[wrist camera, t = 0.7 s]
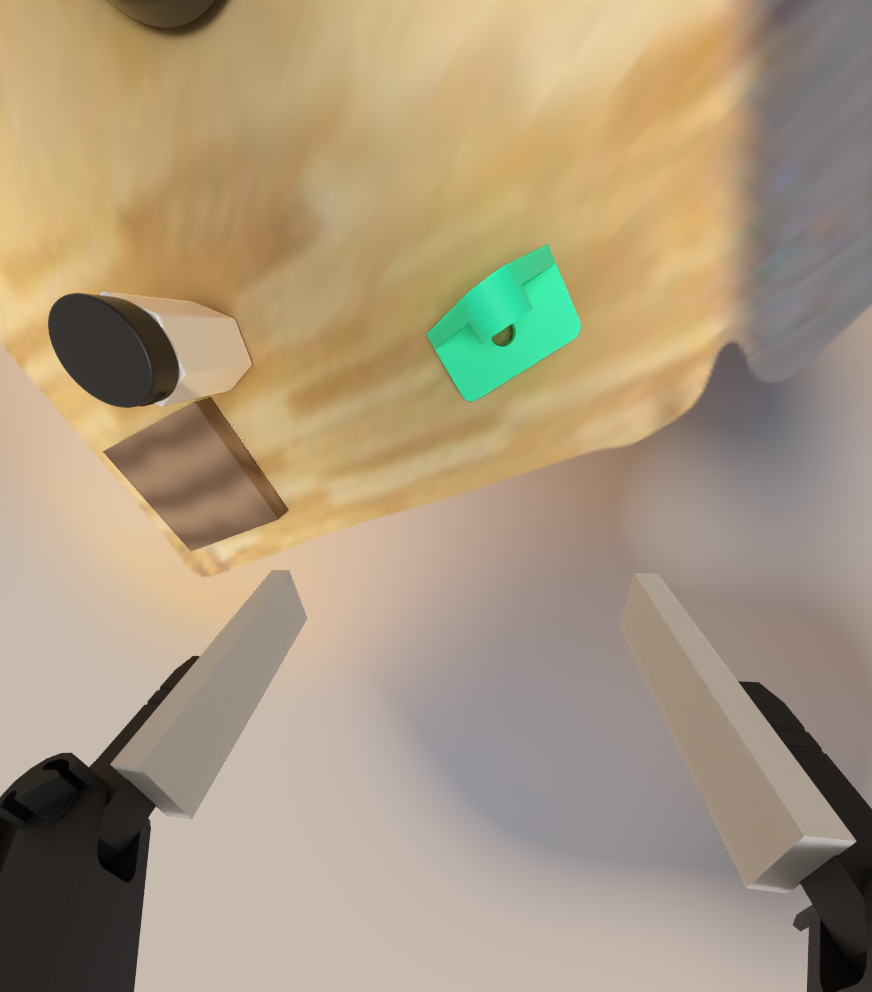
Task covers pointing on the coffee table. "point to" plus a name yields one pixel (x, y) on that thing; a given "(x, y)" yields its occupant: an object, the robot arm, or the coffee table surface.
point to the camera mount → (506, 324)
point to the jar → (146, 348)
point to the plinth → (198, 476)
